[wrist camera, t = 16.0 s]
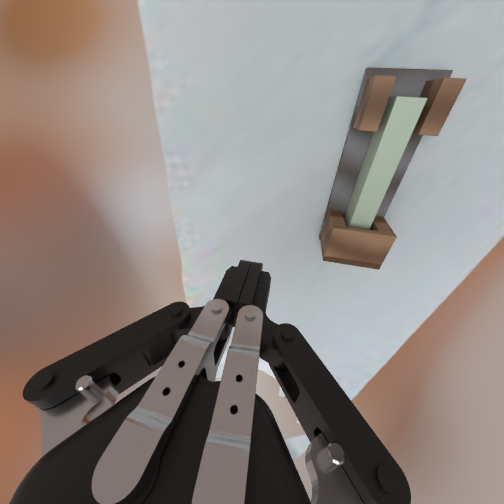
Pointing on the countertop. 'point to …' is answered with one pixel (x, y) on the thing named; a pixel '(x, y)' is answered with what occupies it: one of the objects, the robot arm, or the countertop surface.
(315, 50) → the countertop surface
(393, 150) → the slat
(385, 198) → the holder
